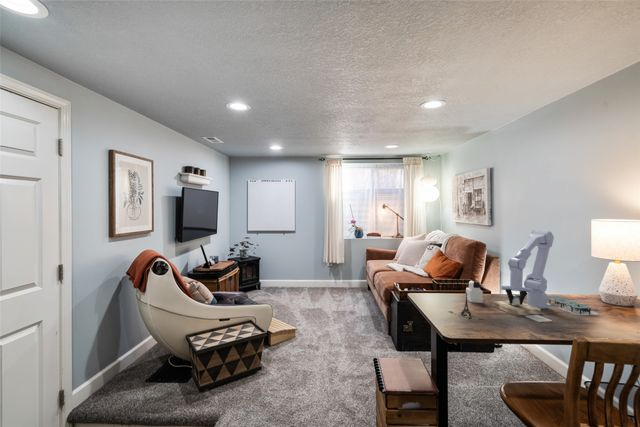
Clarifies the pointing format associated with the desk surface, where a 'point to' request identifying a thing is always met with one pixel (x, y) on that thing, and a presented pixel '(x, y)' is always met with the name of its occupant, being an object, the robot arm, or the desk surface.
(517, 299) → the end cover
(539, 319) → the mat
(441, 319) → the desk surface
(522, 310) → the bore block
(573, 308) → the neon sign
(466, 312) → the eiffel tower figurine
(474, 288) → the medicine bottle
